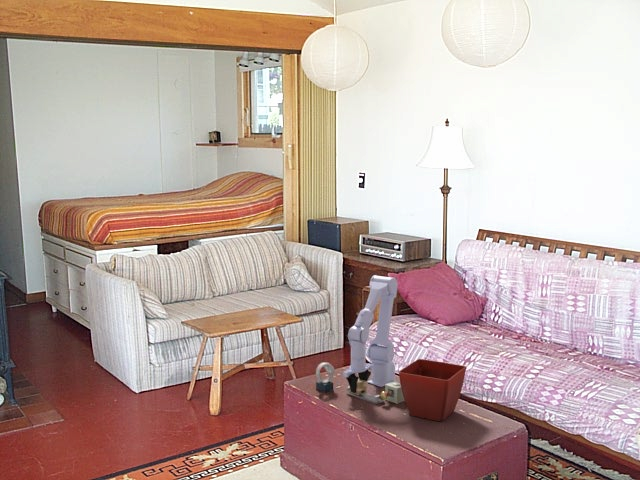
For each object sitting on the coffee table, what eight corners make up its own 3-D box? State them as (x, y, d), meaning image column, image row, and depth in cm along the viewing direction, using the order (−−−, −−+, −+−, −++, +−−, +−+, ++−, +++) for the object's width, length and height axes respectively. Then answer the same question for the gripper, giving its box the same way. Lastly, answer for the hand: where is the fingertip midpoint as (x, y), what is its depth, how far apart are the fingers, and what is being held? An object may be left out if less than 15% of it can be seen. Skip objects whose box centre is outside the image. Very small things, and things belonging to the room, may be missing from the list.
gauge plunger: (391, 394, 281) (391, 387, 281) (397, 396, 279) (397, 389, 279) (379, 399, 277) (379, 391, 276) (385, 401, 275) (385, 393, 274)
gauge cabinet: (395, 395, 286) (395, 380, 285) (407, 399, 281) (407, 383, 280) (385, 399, 282) (385, 383, 281) (396, 403, 277) (397, 387, 276)
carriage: (357, 389, 289) (357, 378, 289) (366, 392, 286) (366, 381, 285) (349, 392, 286) (349, 380, 286) (358, 395, 283) (358, 384, 282)
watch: (337, 389, 293) (337, 362, 292) (321, 393, 288) (321, 366, 286) (327, 385, 297) (327, 359, 296) (312, 390, 292) (312, 363, 291)
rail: (354, 391, 291) (354, 384, 290) (383, 401, 279) (383, 394, 279) (347, 393, 288) (347, 386, 287) (376, 404, 277) (376, 397, 276)
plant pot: (418, 400, 281) (418, 357, 278) (466, 409, 271) (467, 365, 269) (396, 416, 265) (397, 371, 262) (447, 427, 255) (448, 380, 252)
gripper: (363, 351, 292) (363, 383, 294) (337, 358, 282) (337, 392, 284) (376, 354, 287) (376, 388, 289) (350, 362, 277) (350, 397, 279)
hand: (358, 390), depth 286 cm, fingers closed on carriage, 4 cm apart
